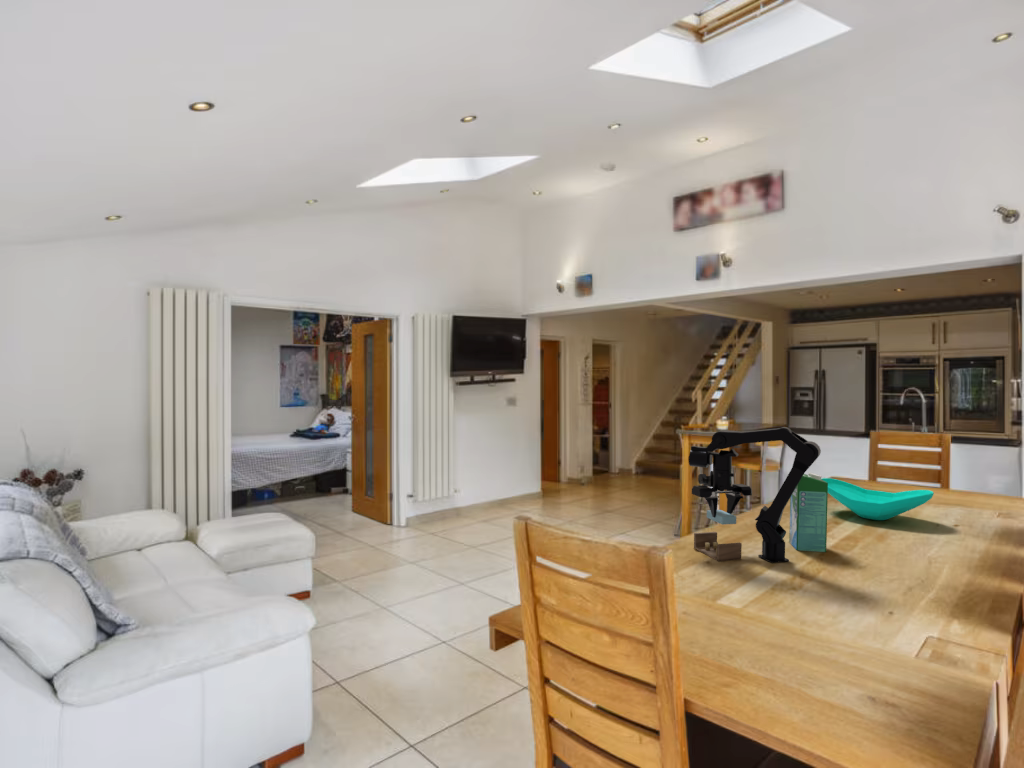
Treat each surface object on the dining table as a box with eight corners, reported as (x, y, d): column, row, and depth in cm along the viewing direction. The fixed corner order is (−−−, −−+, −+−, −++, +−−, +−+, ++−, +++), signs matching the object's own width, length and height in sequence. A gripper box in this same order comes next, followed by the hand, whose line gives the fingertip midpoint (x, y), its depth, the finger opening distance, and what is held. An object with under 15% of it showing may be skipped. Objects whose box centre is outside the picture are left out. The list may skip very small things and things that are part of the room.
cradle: (741, 559, 180) (741, 543, 180) (718, 561, 178) (719, 545, 178) (715, 546, 193) (715, 531, 193) (693, 548, 191) (694, 533, 191)
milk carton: (826, 552, 188) (828, 475, 188) (796, 550, 190) (798, 474, 190) (817, 544, 197) (819, 471, 197) (789, 542, 199) (790, 469, 198)
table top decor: (937, 520, 231) (938, 487, 231) (927, 534, 210) (928, 498, 210) (827, 504, 258) (828, 474, 257) (809, 515, 237) (810, 483, 237)
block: (706, 517, 193) (706, 510, 193) (720, 516, 194) (720, 509, 194) (722, 524, 184) (722, 517, 184) (736, 523, 185) (736, 516, 185)
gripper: (733, 464, 199) (732, 509, 199) (683, 465, 195) (682, 512, 195) (753, 470, 188) (752, 517, 188) (701, 471, 184) (700, 520, 184)
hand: (721, 516), depth 189 cm, fingers closed on block, 5 cm apart
